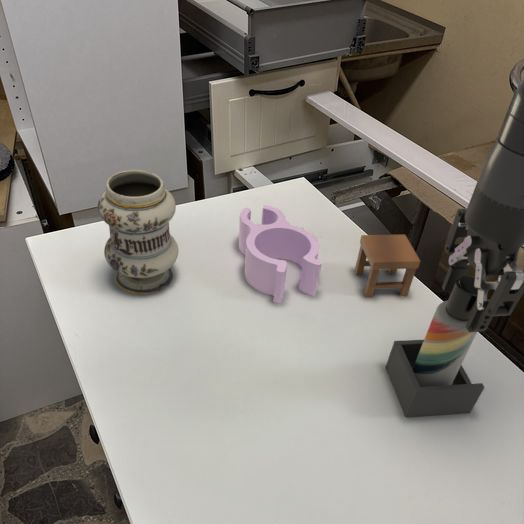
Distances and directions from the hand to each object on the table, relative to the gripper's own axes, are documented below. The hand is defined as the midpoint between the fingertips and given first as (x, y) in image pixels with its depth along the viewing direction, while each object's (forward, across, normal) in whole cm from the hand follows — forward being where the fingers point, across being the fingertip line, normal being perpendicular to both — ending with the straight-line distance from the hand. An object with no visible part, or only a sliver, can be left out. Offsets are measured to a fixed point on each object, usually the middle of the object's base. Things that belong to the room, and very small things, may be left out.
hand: (461, 309), depth 66 cm
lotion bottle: (+16, 0, 0) cm, 16 cm away
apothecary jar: (+16, +29, +41) cm, 53 cm away
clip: (+16, +31, +18) cm, 39 cm away
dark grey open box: (+16, 0, 0) cm, 16 cm away
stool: (+16, +25, 0) cm, 30 cm away
